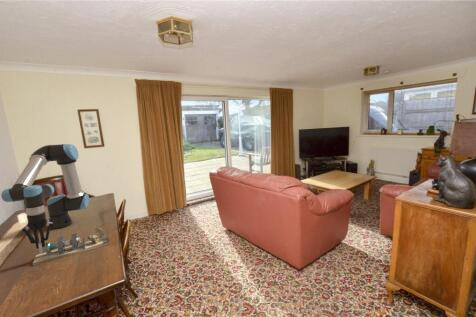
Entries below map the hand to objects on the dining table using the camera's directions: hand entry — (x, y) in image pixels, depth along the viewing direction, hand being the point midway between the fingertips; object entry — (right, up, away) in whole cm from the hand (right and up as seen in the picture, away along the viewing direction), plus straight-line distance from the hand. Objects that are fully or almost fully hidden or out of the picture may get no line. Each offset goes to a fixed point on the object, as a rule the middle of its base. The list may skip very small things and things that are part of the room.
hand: (41, 252), depth 125 cm
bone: (+22, 0, +15) cm, 26 cm away
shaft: (+9, 0, +6) cm, 10 cm away
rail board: (+12, -2, +9) cm, 15 cm away
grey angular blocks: (+17, -2, +12) cm, 21 cm away
